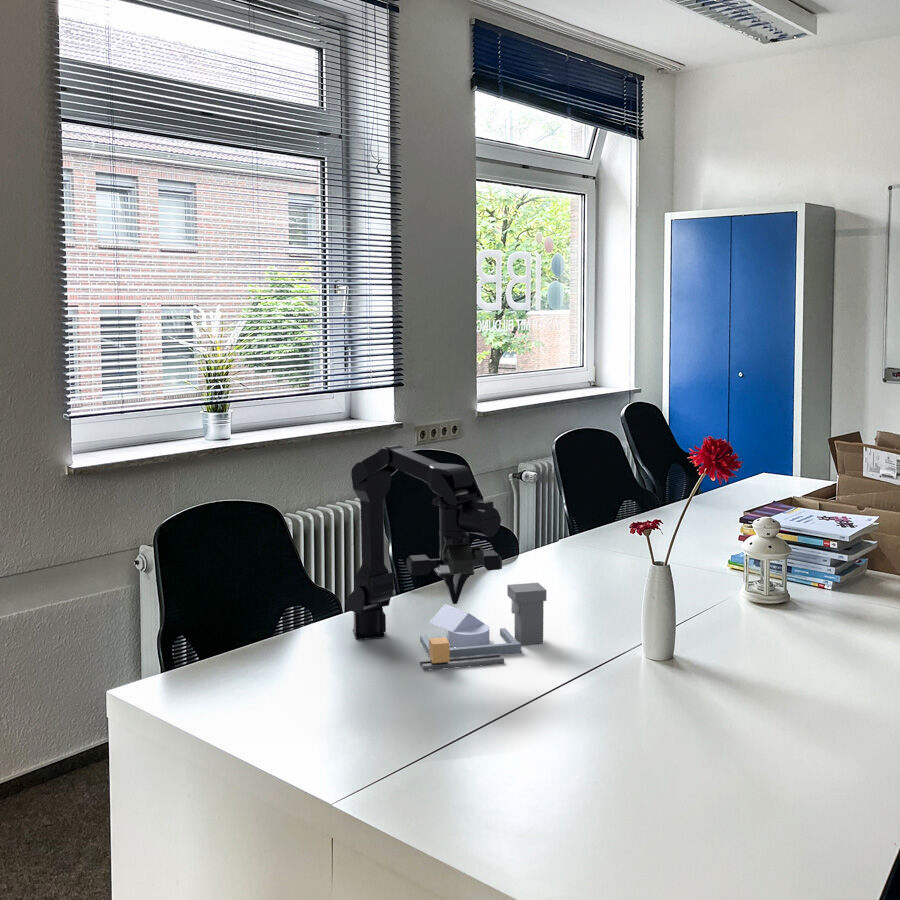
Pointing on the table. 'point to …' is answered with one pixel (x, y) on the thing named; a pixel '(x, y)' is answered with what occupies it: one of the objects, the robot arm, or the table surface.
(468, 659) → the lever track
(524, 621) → the press bed
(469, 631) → the wedge on round base
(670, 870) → the table surface
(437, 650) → the tan wooden cube
